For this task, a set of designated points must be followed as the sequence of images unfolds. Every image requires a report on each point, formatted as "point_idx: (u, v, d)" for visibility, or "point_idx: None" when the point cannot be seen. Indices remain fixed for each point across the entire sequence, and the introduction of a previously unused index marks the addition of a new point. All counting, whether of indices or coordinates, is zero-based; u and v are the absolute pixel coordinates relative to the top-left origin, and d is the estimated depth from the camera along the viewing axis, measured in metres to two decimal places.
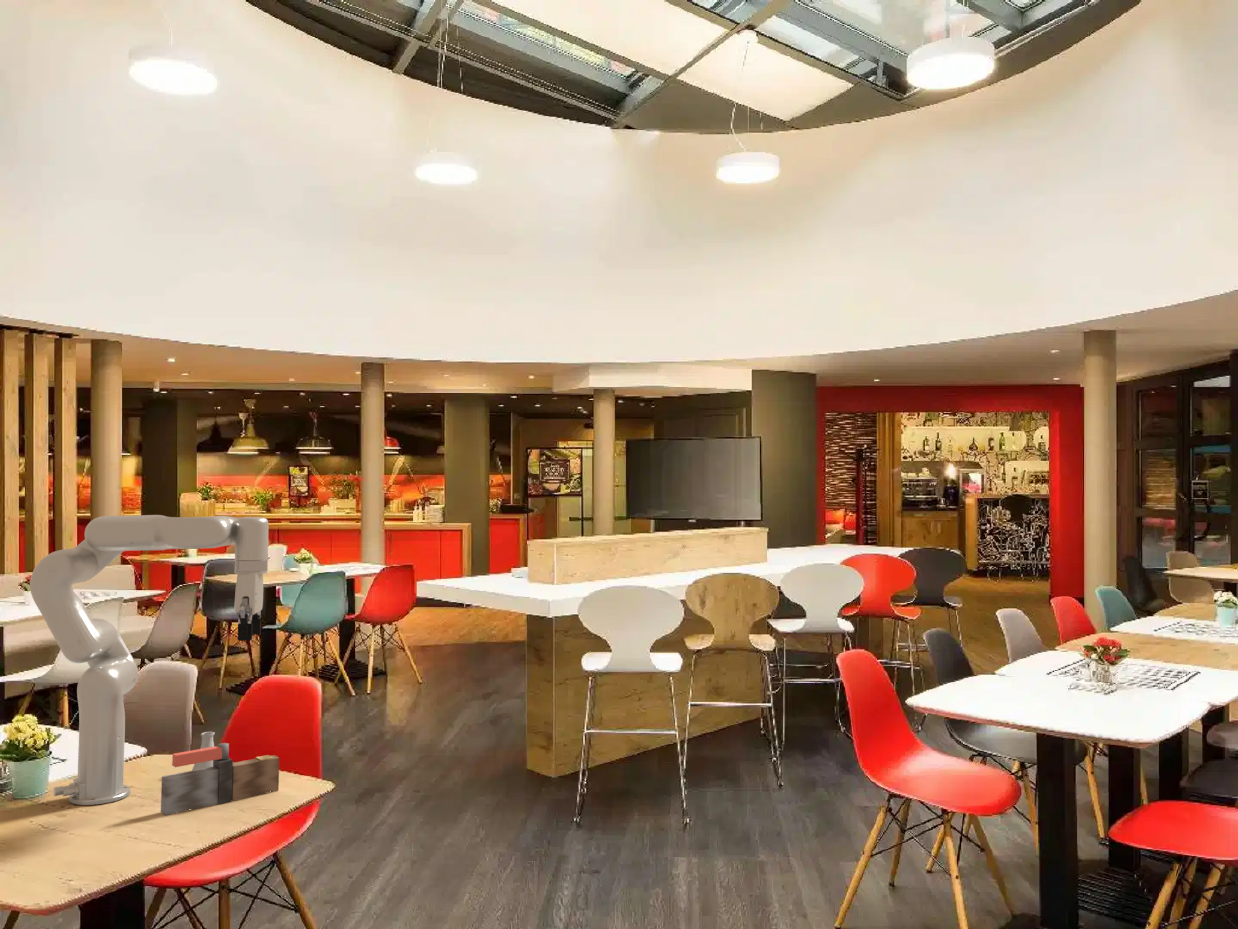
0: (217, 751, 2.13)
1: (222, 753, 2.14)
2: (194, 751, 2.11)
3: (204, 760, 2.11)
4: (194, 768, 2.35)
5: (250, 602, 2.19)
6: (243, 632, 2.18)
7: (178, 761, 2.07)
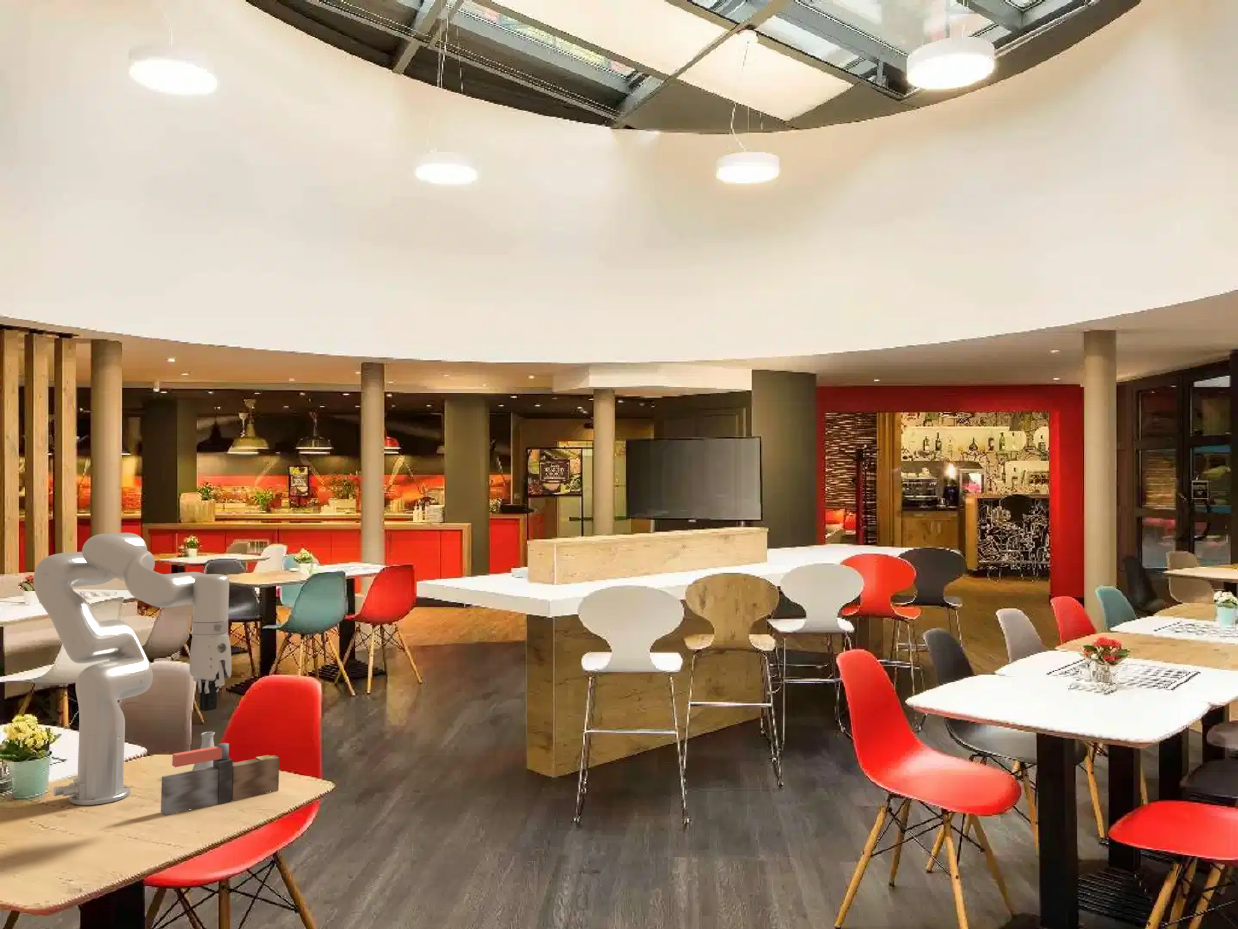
0: (217, 751, 2.13)
1: (222, 753, 2.14)
2: (194, 751, 2.11)
3: (204, 760, 2.11)
4: (194, 768, 2.35)
5: None
6: None
7: (178, 761, 2.07)
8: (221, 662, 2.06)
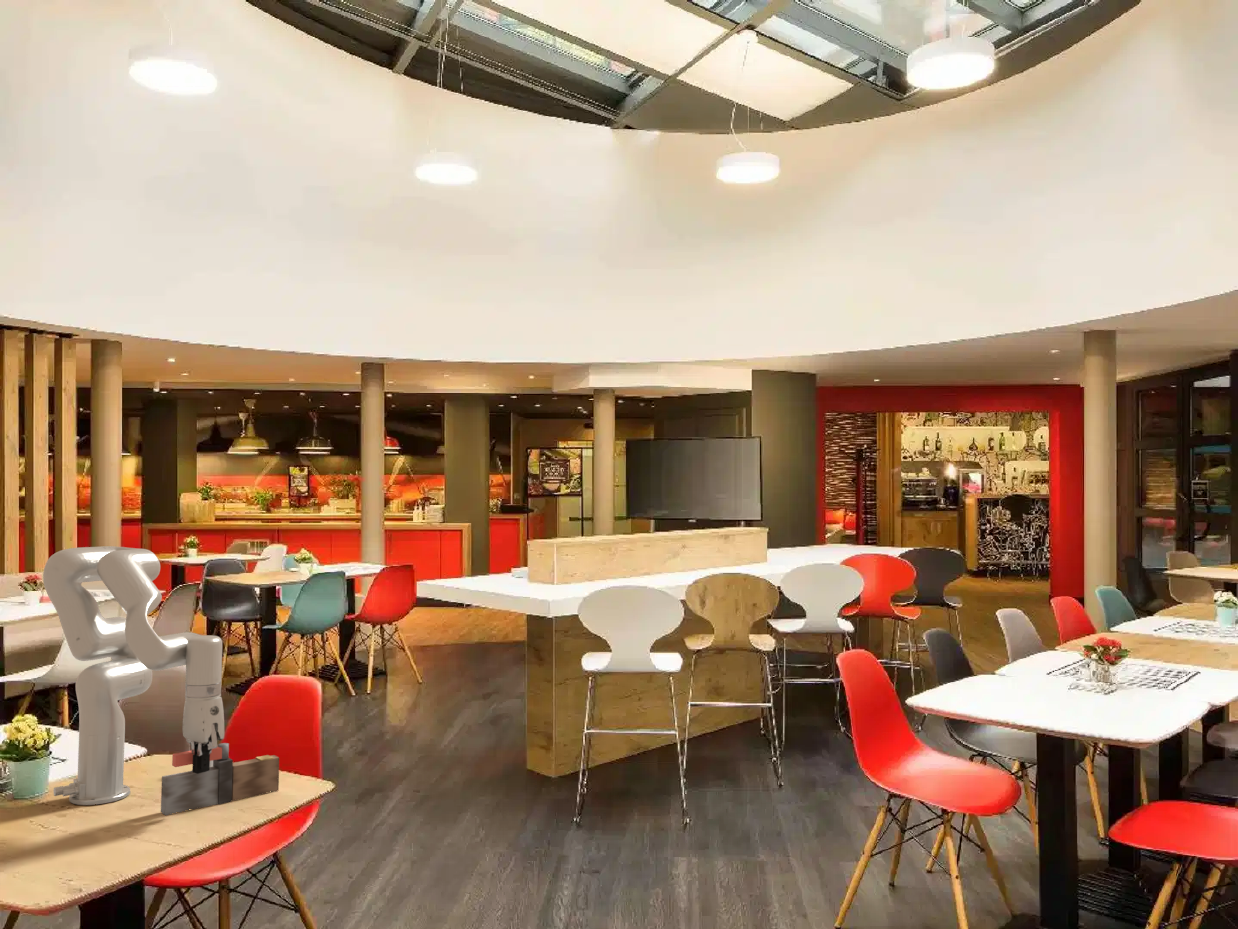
0: (217, 751, 2.13)
1: (222, 753, 2.14)
2: None
3: None
4: None
5: None
6: None
7: (178, 761, 2.07)
8: (214, 725, 2.07)
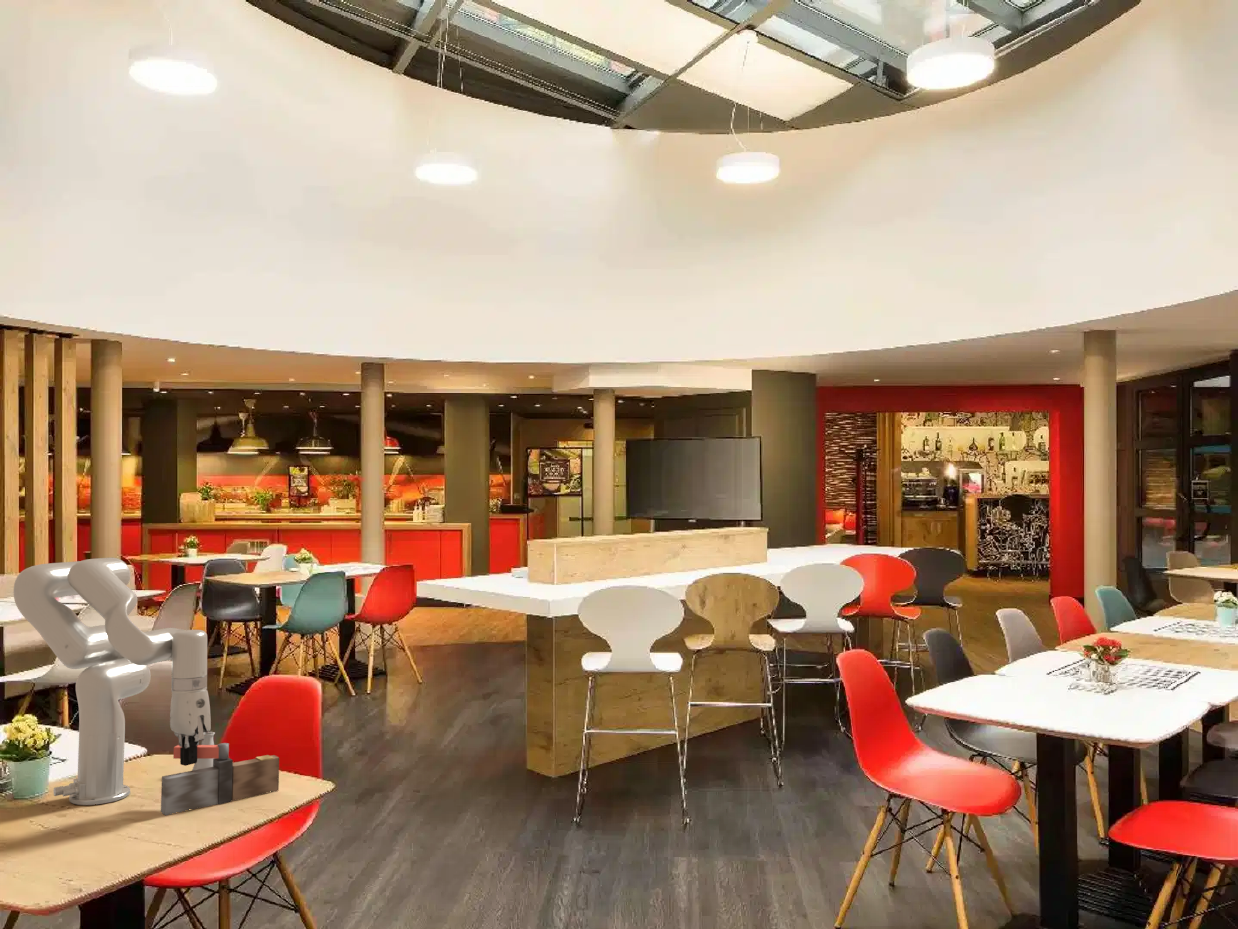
0: (214, 750, 2.14)
1: (219, 753, 2.14)
2: None
3: (201, 757, 2.14)
4: (194, 768, 2.35)
5: None
6: None
7: (176, 753, 2.14)
8: (200, 717, 2.10)
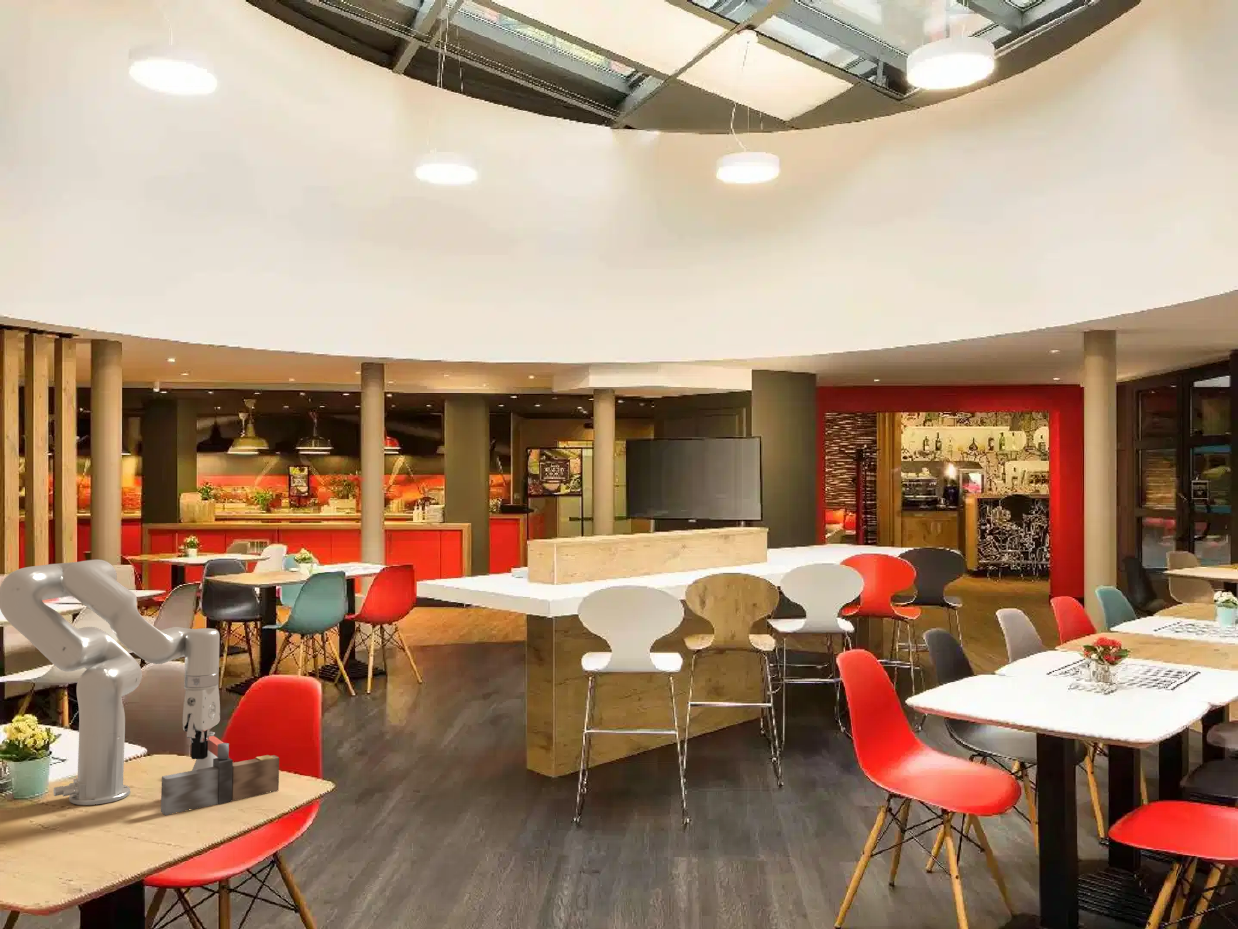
0: (216, 748, 2.16)
1: (218, 752, 2.15)
2: (214, 740, 2.20)
3: (212, 752, 2.18)
4: (194, 768, 2.35)
5: None
6: None
7: None
8: (193, 715, 2.15)
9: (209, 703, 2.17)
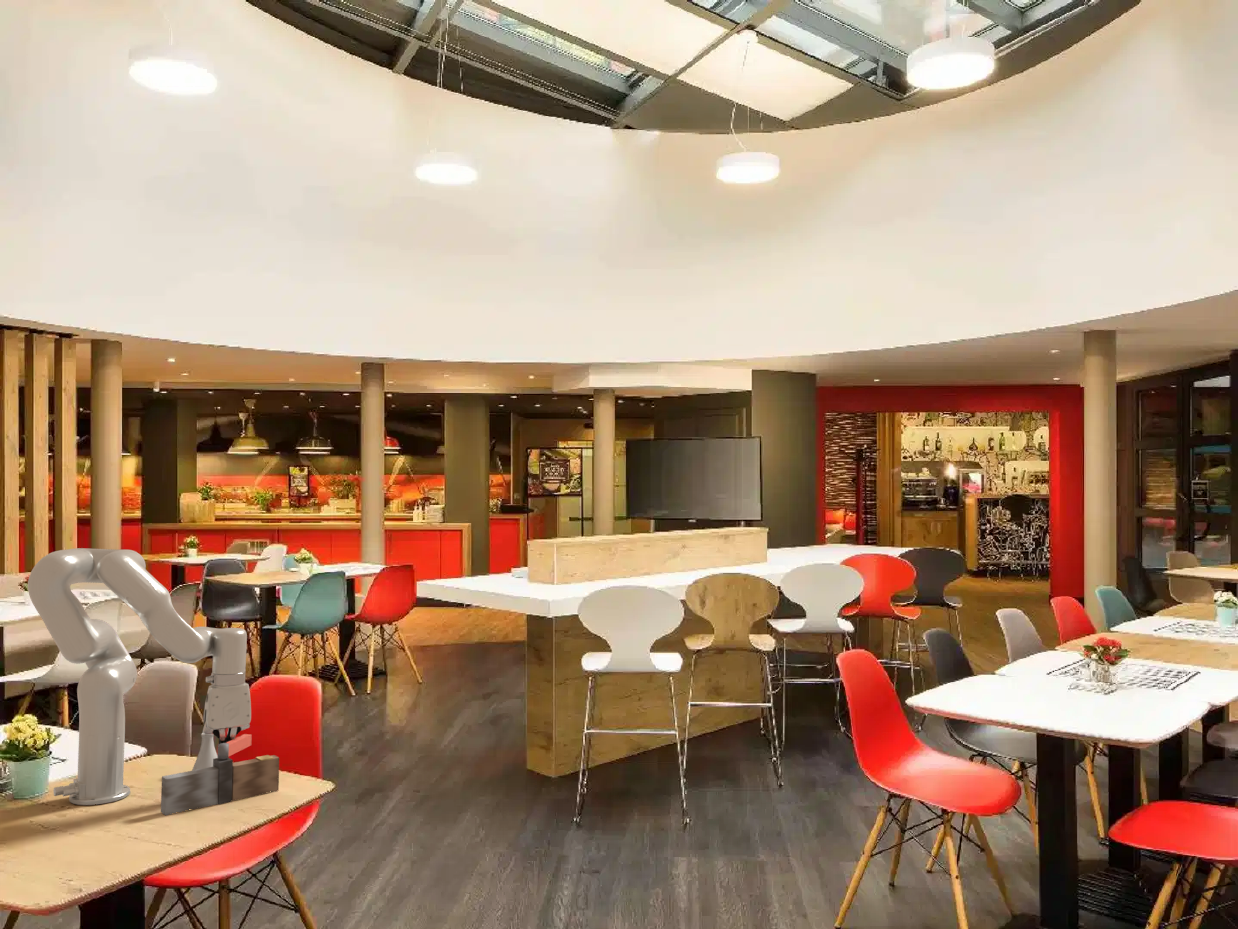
0: None
1: None
2: (237, 738, 2.22)
3: None
4: (194, 768, 2.35)
5: None
6: None
7: None
8: None
9: (224, 702, 2.20)
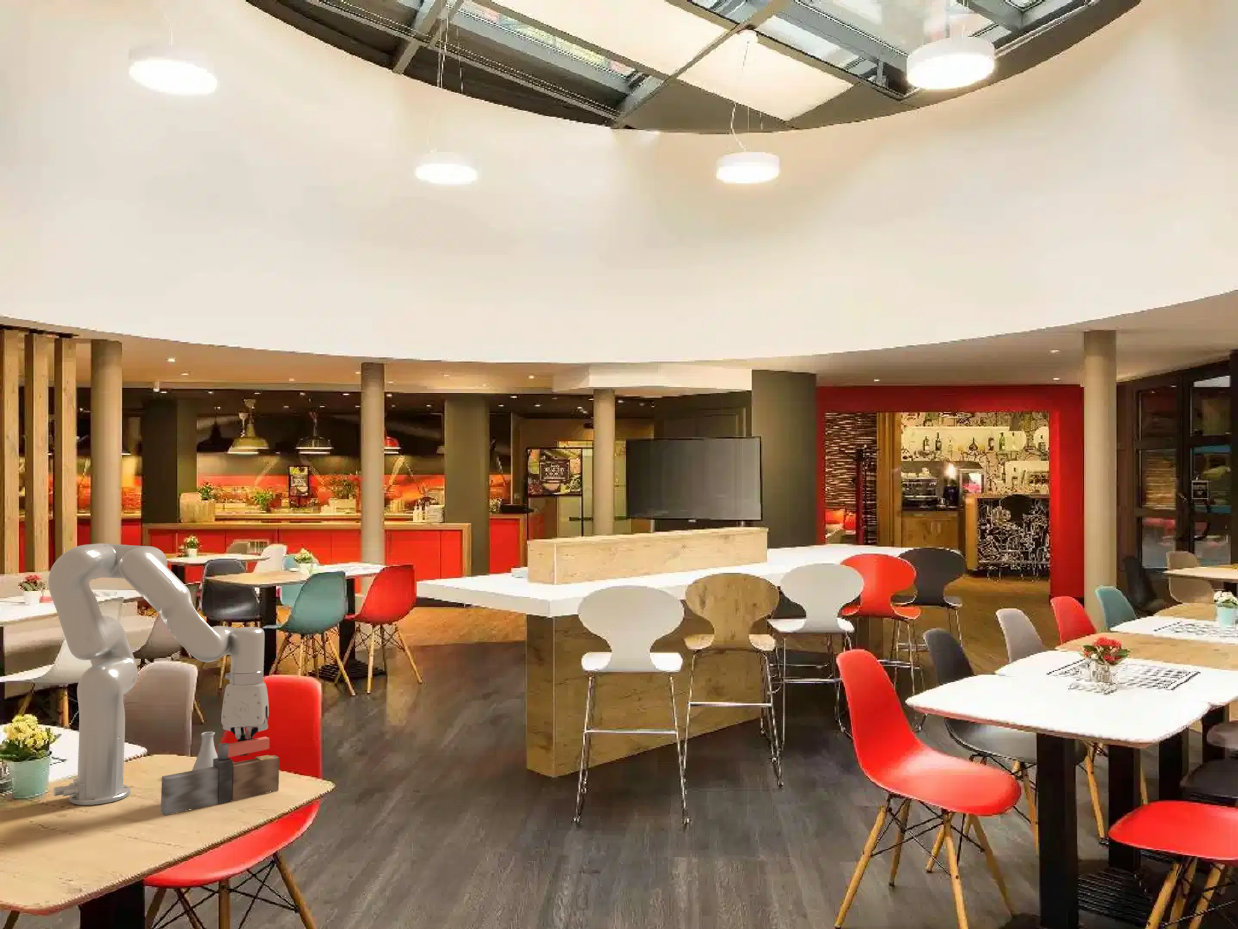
0: None
1: None
2: (249, 740, 2.20)
3: None
4: (194, 768, 2.35)
5: (268, 711, 2.24)
6: None
7: None
8: None
9: (235, 701, 2.21)
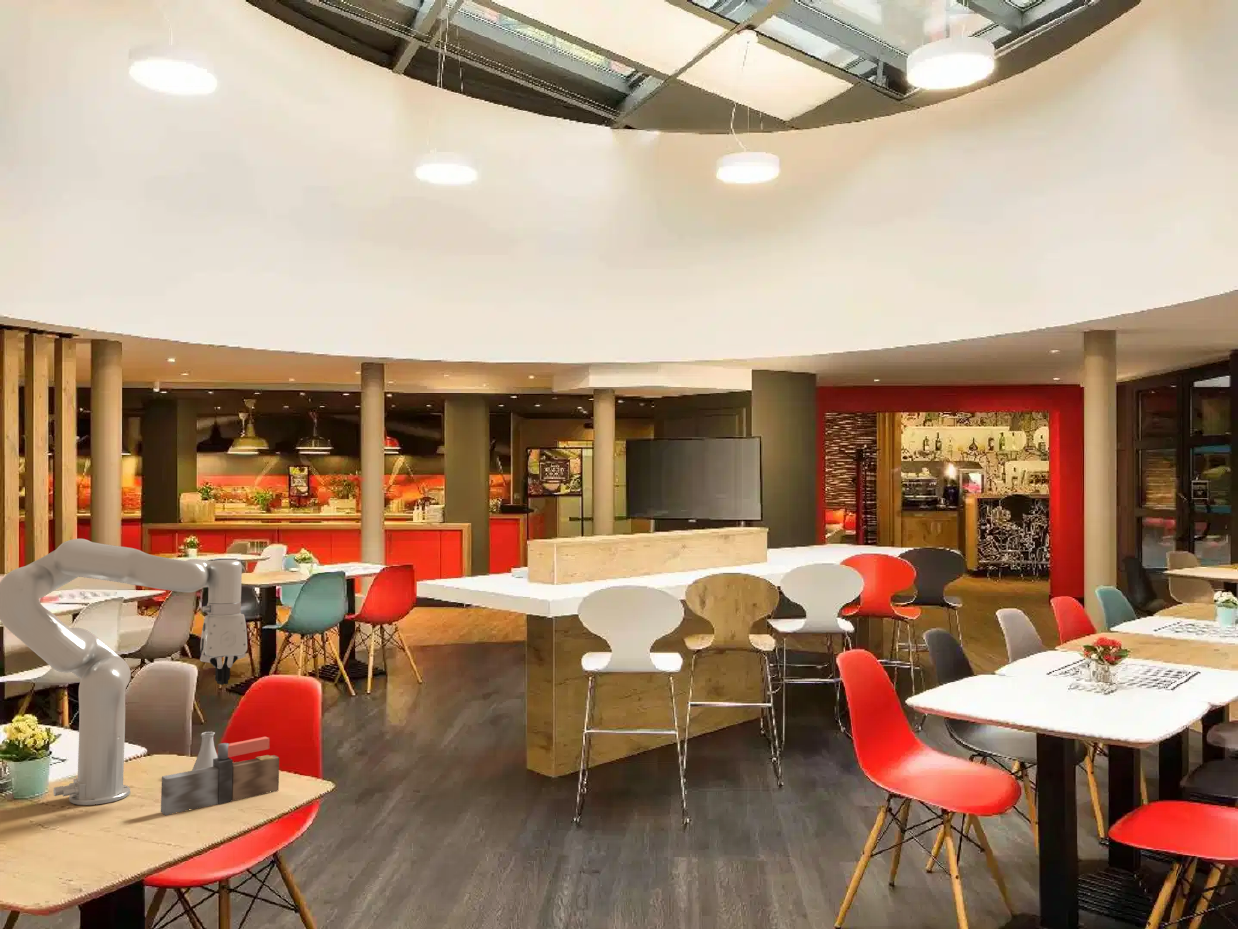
0: None
1: None
2: (249, 740, 2.20)
3: None
4: (194, 768, 2.35)
5: None
6: None
7: None
8: None
9: (221, 631, 2.25)
